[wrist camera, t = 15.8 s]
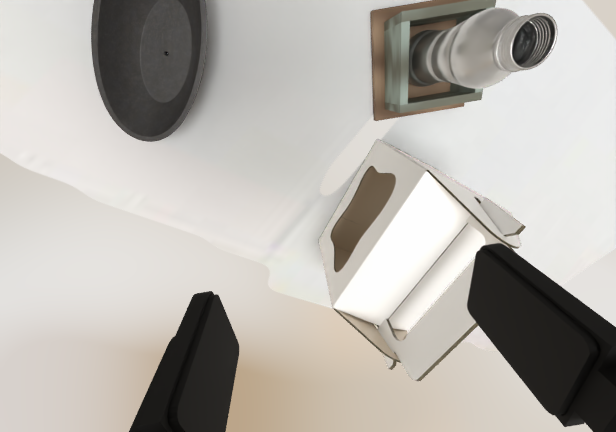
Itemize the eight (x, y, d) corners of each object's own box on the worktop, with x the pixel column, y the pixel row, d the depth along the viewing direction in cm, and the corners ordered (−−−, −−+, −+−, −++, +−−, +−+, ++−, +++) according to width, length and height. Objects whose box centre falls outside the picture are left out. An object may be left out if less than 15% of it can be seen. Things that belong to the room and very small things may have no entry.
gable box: (373, 262, 55) (444, 410, 30) (317, 241, 52) (346, 388, 27) (438, 168, 47) (613, 267, 22) (377, 136, 43) (501, 210, 18)
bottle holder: (370, 12, 35) (388, -3, 29) (472, -5, 35) (512, -24, 29) (373, 120, 42) (389, 126, 36) (460, 105, 42) (490, 109, 36)
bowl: (235, -18, 33) (225, -37, 28) (197, 146, 42) (184, 155, 36) (132, -72, 30) (98, -106, 25) (115, 115, 39) (86, 121, 33)
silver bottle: (425, 21, 36) (564, -40, 18) (447, 65, 38) (586, 51, 20) (385, 56, 37) (477, 32, 19) (409, 96, 40) (508, 108, 22)
